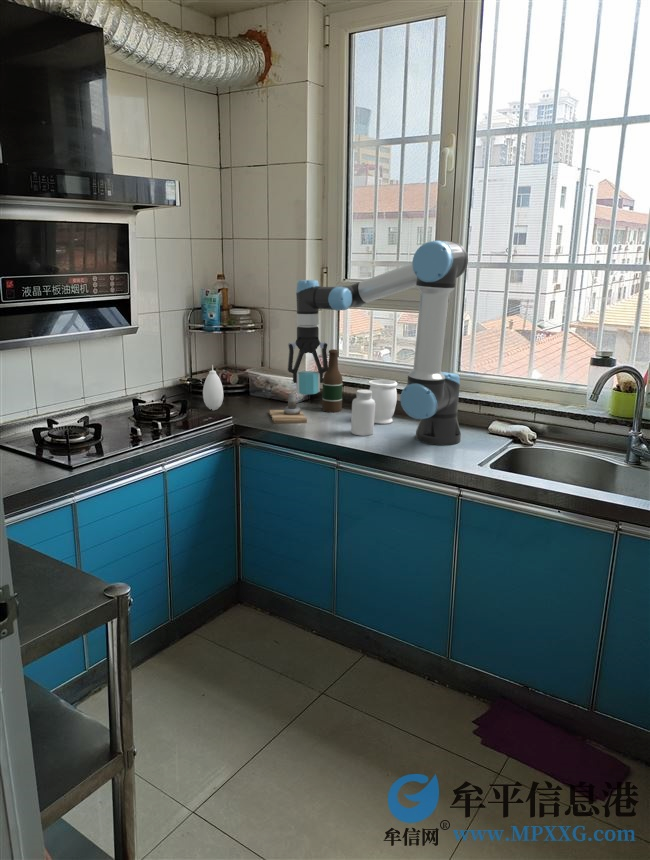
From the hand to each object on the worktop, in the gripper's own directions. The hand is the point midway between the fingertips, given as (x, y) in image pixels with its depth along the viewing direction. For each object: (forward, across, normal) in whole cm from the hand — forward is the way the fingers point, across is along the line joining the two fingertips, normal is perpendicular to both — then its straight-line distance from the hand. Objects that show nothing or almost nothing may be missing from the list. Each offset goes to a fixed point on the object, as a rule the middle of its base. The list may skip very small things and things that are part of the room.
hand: (307, 391), depth 235 cm
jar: (+13, -28, -4) cm, 32 cm away
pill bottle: (+13, -17, +10) cm, 24 cm away
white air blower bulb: (+12, +33, -28) cm, 45 cm away
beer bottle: (+13, -13, -24) cm, 30 cm away
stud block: (+12, +6, -14) cm, 19 cm away
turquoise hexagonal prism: (0, 0, 0) cm, 0 cm away
